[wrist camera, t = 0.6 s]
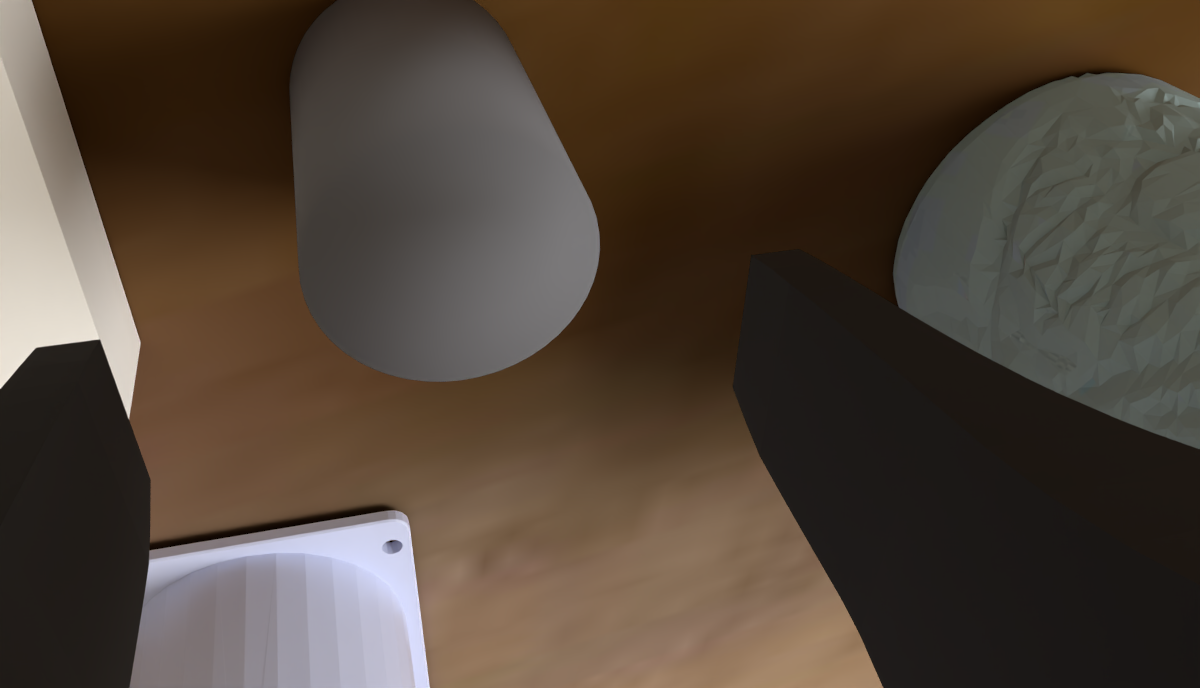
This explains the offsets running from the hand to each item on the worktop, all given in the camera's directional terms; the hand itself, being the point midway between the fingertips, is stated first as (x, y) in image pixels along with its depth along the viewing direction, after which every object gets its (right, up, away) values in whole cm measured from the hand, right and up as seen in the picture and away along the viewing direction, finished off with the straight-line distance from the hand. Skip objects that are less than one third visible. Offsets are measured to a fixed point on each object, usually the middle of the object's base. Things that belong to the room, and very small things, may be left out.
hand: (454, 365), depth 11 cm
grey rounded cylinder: (-2, +5, +8) cm, 9 cm away
